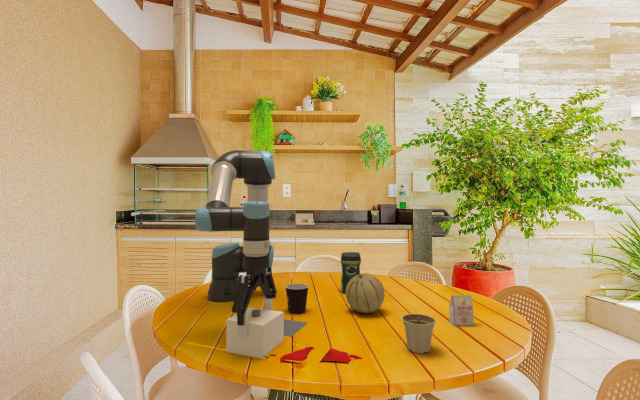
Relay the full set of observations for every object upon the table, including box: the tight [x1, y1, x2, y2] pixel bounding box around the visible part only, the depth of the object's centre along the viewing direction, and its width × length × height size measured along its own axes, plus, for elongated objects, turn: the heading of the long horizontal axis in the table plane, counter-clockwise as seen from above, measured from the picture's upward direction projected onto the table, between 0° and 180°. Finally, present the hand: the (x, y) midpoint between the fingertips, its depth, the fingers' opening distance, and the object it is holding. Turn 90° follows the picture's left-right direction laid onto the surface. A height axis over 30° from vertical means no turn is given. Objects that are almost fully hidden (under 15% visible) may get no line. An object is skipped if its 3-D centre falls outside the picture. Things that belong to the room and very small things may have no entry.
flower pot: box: [401, 313, 437, 354], centre depth 96 cm, size 9×9×9 cm
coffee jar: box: [340, 251, 362, 294], centre depth 157 cm, size 10×8×19 cm
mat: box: [284, 318, 308, 338], centre depth 112 cm, size 14×13×1 cm
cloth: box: [266, 346, 363, 365], centre depth 91 cm, size 26×14×2 cm, turn 78°
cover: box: [225, 307, 285, 360], centre depth 97 cm, size 12×12×10 cm
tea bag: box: [448, 294, 474, 327], centre depth 116 cm, size 4×7×10 cm, turn 91°
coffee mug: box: [285, 283, 309, 315], centre depth 129 cm, size 12×9×10 cm
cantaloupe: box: [345, 273, 385, 314], centre depth 128 cm, size 15×15×15 cm
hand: (256, 327), depth 98 cm, fingers open, 13 cm apart
